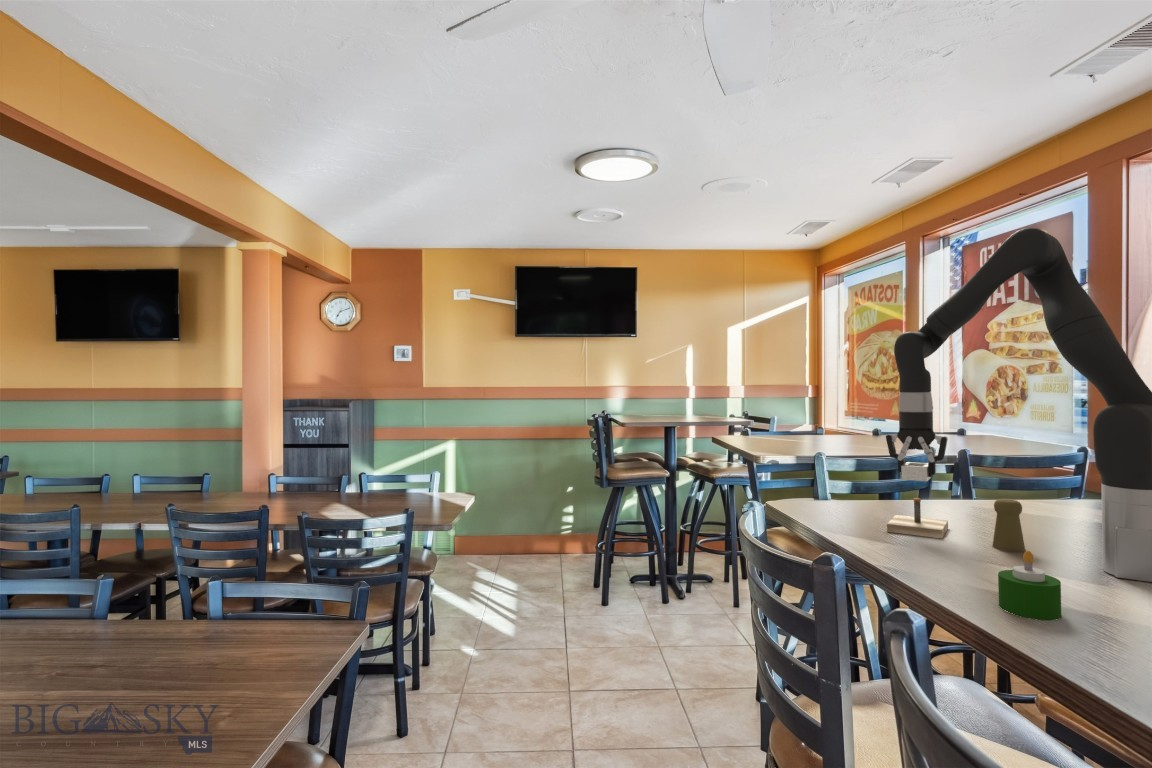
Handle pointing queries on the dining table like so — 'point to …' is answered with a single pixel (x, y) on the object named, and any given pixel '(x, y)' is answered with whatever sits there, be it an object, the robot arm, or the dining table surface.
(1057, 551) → the dining table surface
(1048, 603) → the candle
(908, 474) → the white hollow block
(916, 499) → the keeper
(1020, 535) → the cork
